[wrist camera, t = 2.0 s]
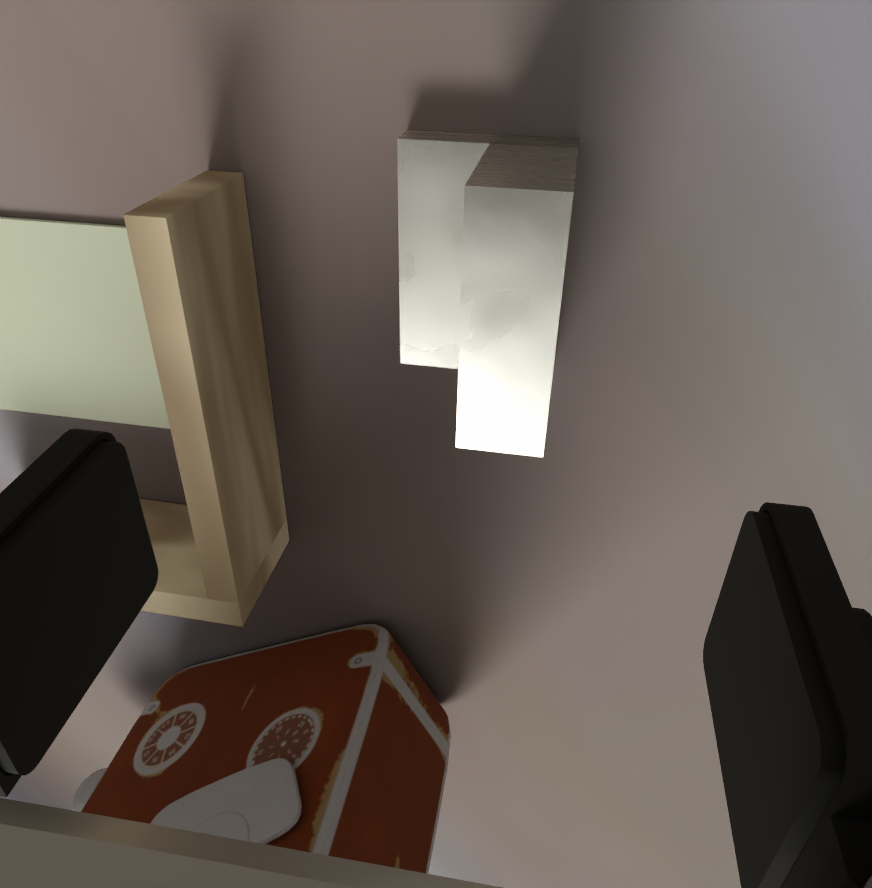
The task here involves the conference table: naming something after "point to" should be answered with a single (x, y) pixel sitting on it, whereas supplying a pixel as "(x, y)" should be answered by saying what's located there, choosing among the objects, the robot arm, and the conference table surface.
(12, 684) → the robot arm
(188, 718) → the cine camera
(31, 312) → the pad
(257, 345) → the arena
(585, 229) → the conference table surface
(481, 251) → the bracket
